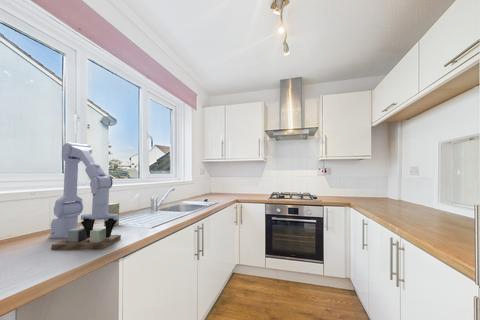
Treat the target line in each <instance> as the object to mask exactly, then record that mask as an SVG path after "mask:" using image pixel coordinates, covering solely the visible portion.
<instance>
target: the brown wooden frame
mask: <svg viewBox="0 0 480 320" xmlns="http://www.w3.org/2000/svg"><path fill="white" fill-rule="evenodd" d="M121 237H122V235H121V234H111V236H110V237H108V238H107V239H105V240H104V241H102V242H90V237H89V238H87V239H85V240H83V241H81V242H79V243H68V238H63V239H62V240H59V241H57V242H55V243H52V244H51V250H52V251H58V250H61V251H62V250H63V251H69V250H75V251H77V250H80V251H82V250H83V251H84V250H86V251H87V250H89V251H90V250H91V251H92V250H94V251H96V250H98V251H99V250H102V251H105V249H107V248H109V247H110V246H112V245H113V244H115V243H117V242H119V241H121V239H122V238H121Z"/></svg>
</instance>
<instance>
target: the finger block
mask: <svg viewBox="0 0 480 320" xmlns="http://www.w3.org/2000/svg"><path fill="white" fill-rule="evenodd" d="M105 239H107V238H106V226H98V227H96V228H93V230H91V231H90V242H102V241H104V240H105Z"/></svg>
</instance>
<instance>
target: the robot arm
mask: <svg viewBox="0 0 480 320" xmlns="http://www.w3.org/2000/svg"><path fill="white" fill-rule="evenodd" d="M92 152H93V148H92V146H91V145H90V144H85V143H76V142H75V143H74V142H69V141H67V142H65V143H63V145H62V148H61V160H63V161H64V178H63V180H64V181H63V195H62V196H60V198H57V199H56V200H55V202H54V207H53V214H54V216H55V217H53V219H51V222H50V231H49V232H50V235H49V236H48V238H51V239H54V238H55V239H56V238H57V239H58V238H63V239H67V238H68V231H69V230H71V229H74V228H77V227H79V226H78V225H79V216H80V220H81V222H80V224H81V225H82V227H84V228H85V231H86V234H87V238H89V237H90V231H91V230H93V229H94V225H95V221H96V220H104V219H108V220H107V221H105V226H104V227H106V238H108V237H110V236H111V235H112V232H113V230H114V227H115V226H116V225H115V223H116V222H117V219H119V220H120V213H119V214H108V204H110V203H109V200H110V199H109V198H110V189H111V188H112V187H113V178H112V176H111V175H108V174H106V173H105V172H104V170H103V167H101V165H100V164H99V163H96V162H95V160H94V157H93V155H92V154H93V153H92ZM80 162H82V163H83V165H84V166H85V170H84V171H85V173H86V175H87V177H88V178H89V181H90V183H89V186H90V189H91V190H90V192H91V194H92V203H91V204H92V206H91V213H89V214H88V213H87V214H85V213H83V214H82V212H83V211H84V204H83V203H84V202H83V198H81V197H80V196H78V175H79V163H80Z"/></svg>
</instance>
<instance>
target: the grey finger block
mask: <svg viewBox="0 0 480 320" xmlns="http://www.w3.org/2000/svg"><path fill="white" fill-rule="evenodd" d="M85 239H87V234H86V231H85V228H84V227H83V226H78V227H77V228H74V229H71V230H69V231H68V243H79V242H81V241H83V240H85Z"/></svg>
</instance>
